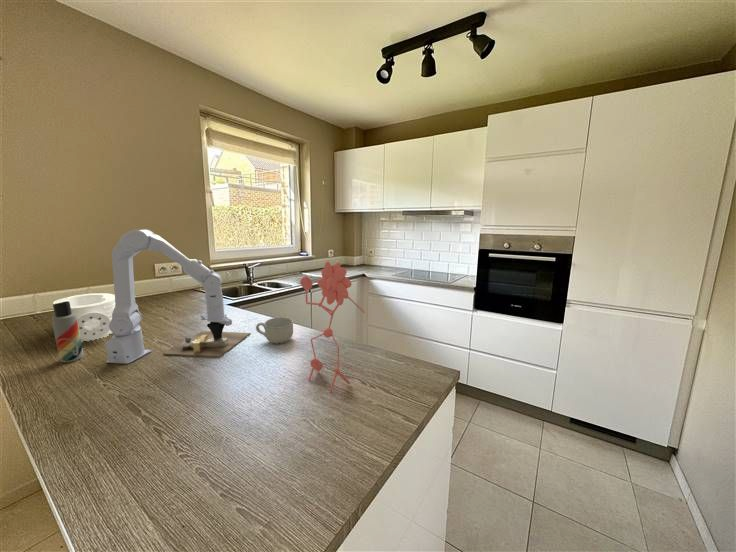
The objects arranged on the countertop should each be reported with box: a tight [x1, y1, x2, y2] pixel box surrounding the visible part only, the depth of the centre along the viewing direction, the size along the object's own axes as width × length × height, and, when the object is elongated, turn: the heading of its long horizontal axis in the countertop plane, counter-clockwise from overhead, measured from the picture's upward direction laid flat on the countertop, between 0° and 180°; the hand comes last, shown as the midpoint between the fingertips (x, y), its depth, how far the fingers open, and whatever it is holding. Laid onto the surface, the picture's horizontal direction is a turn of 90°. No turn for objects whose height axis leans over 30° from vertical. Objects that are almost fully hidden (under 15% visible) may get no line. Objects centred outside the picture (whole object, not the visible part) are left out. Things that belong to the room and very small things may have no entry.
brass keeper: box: [193, 335, 208, 353], centre depth 105 cm, size 2×8×4 cm, turn 7°
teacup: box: [255, 316, 294, 345], centre depth 113 cm, size 14×11×8 cm
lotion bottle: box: [51, 301, 84, 364], centre depth 97 cm, size 6×6×20 cm
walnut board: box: [162, 330, 251, 358], centre depth 111 cm, size 21×21×1 cm
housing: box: [52, 292, 115, 343], centre depth 123 cm, size 35×22×14 cm, turn 47°
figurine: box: [300, 261, 366, 401], centre depth 85 cm, size 15×26×35 cm, turn 51°
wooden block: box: [181, 336, 228, 349], centre depth 107 cm, size 15×4×3 cm, turn 98°
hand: (218, 340), depth 110 cm, fingers closed, pressing on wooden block
